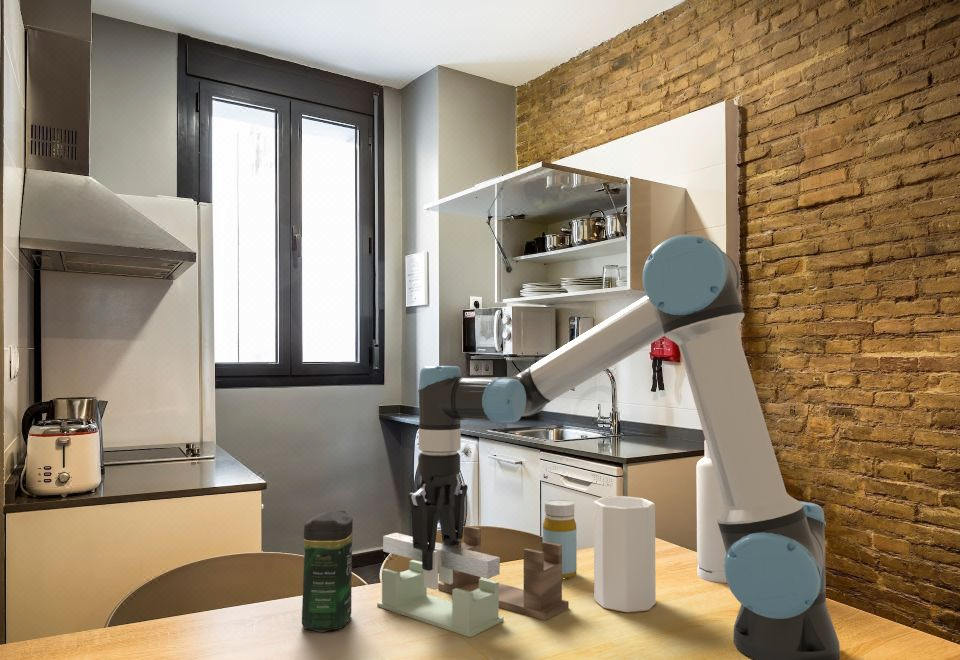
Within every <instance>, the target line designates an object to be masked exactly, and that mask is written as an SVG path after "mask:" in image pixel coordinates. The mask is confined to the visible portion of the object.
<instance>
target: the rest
mask: <svg viewBox="0 0 960 660" xmlns="http://www.w3.org/2000/svg"><path fill="white" fill-rule="evenodd" d="M408 561H409V562H408V563H409V565H408V569H407V570H404V571H396V570H393V569H390V568H383V569H381V570H382V571H381V573H382V575H381V578H382V579H381V592H382V593H381V601H379V602H377V603H376V604H377V605H376V606H377V607H378V608H381V609H385V610H387V611H390V612H393V613H396V614H399V615H402V616H405V617H409V618H411V619H414V620H417V621H420V622H423V623H425V624H429V625H432V626H434V627H438V628H441V629H444V630H447V631H450V632H453V633H456V634H458V635H462V636H465V637H468V638H472V637H474V636H476V635H478V634H480V633H482V632H485V631H486V630H488V629H491V628H493V627H494V626H497V625H498V624H500V623H503V622H504V617H503V616H500V615H499V608H500V607H499V583H500V582H499V581H497V580H492V579H490V578H489V579H486V578H483V577H481V578H480V579H479V589H476V590H474V591H471V592H468V591H465V590H461V589H458V588H455V589H453V590H452V593H451V594H452V597H451V598H452V599H451V600H447V599H443V598H441V597H436V596H434V595H429V594H427V593H428V590H427V589H428V588H427V587H424V569H423V568H422V561H418V560H415V559H411V560H408Z"/></svg>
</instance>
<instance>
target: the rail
mask: <svg viewBox="0 0 960 660" xmlns="http://www.w3.org/2000/svg"><path fill="white" fill-rule="evenodd" d="M382 537H383V538H382V539H383V541H382V551H383V552H385V553H387V554H388V553H389V554H392V555H395V556H396V555H397V556H400V557H404V558H407V559H411V560H416V561H420V562H422V550H420V549H416V548H414V547H413V535H412V536H410V535H407V534H403V533H399V532H393V533H390V534H386V535H383V536H382ZM428 544H429V543H428ZM435 551H438V567H439V566H441V567H445V568H449V569H452V570H456V571H460V572H464V573H467V574H471V575H475V576H479V577H481V578H485V579H489V580H490V579H492V578H495V577H496V576H499V575H500V574H501V573H500V571H501V570H500V566H501V565H500V561H501V559H500V557H499V556H496V555H495V556H494V555H492V554H488V553H484V552H481V553H479V552H475V551H471V550H467V549H462V548H458V547H454V546H450V545H445V544H444V543H441V542H437V541H436V543H435Z"/></svg>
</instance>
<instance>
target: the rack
mask: <svg viewBox="0 0 960 660" xmlns="http://www.w3.org/2000/svg"><path fill="white" fill-rule="evenodd" d="M481 540H482V528H481V527H476V526H470V525H465V526H463V542H462V539H461V540H460V539H458V540H457V541H460V543H459V545H458V546H455V545H454V547H458V548H462V549H467V550H471V551H475V552H479V553H482V552H481V551H482V541H481ZM541 543H542V544H541V545H542V548H541V549H542V551H541V550H536V549H531V548H524V549H523V588H519V587H515V586H512V585H508V584H504V583H500V582H499V608H501V609H505V610H508V611H511V612H515V613H518V614H522V615H525V616H529V617H531V618H535V619H538V620H543V621H547V620H549V619H551V618H553V617H554V616H556V615H559V614H560V613H562V612H564V611H566V610H568V609H569V608H570V607H569V605H570V604H569V600H565V599H563V579H562V545H560V544H556V543H551V542H546V541H545V542H543V541H542V542H541ZM480 578H482V577H479V576H475V575H471V574H467V573H464V572H460V571H456V570H453V583H452V584H448V583H444V582H441V581H439V582H438V589H437V590H439V591H441V592H442V591H443V592H446V593H448V594H452V590H453V589H455V588H458V589H461V590H465V591H468V592H471V591H474V590H476V589H479V579H480Z"/></svg>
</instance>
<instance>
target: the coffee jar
mask: <svg viewBox="0 0 960 660" xmlns="http://www.w3.org/2000/svg"><path fill="white" fill-rule="evenodd" d="M353 521H354V520H353V517H352V516H351V515H350V514H349V513H347V511H345V510H329V509H327V510H322V512H320V513H317V514H316V515H313V516H312V517H310V518H309V519H308V520H307V521H306V522H305V523H304V526H303V576H302V577H303V578H302V579H303V581H302V606H301V607H302V608H301V625H302V627H303V629H307V630H311V631H314V632H328V631H331V630H337V629H338V630H339V629H342V628H344V626H345V625H346V624H347V623H348V622H349V620H350V618H351V616H352V575H353V573H352V571H353V570H352V569H353V563H352V562H353V533H354V532H353V530H354V528H353V525H354V523H353Z"/></svg>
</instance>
